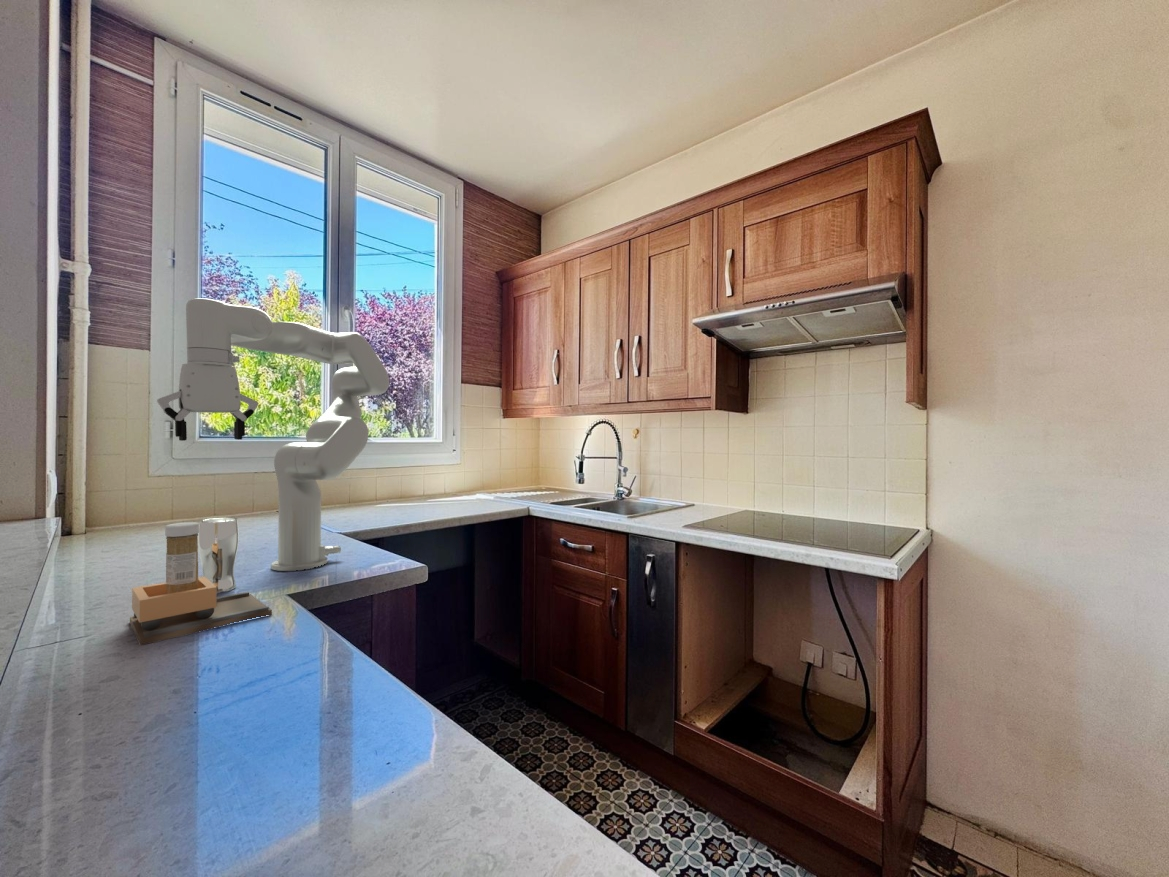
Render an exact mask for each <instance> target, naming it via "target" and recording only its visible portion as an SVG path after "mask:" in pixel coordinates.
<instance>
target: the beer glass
mask: <svg viewBox="0 0 1169 877" xmlns="http://www.w3.org/2000/svg"><path fill="white" fill-rule="evenodd" d="M238 520H239V519H238V518H236V517H216V518H207V519H202V520H200V521H199V533H198V537H197V538H198V556H199V559H200V564H201V568H202V577H203V576H205V577H206V578H207V579H208V580H209V581H210V582H211V583H213V584H214V585H215V586H216V587H217V594H221V593H220V592H223V593H226V592H225V591H227V592H230V591H229V590H231V591H233V590H235V589H236V588H235V587H237V584H236V580H235V574H234V573H235V572H234V569H235V564H236V560H237V553H238V548H239V542H240V541H239V539H240V538H239V536H240V534H239V523H238V522H239V521H238ZM234 588H235V589H234ZM232 589H233V590H232Z"/></svg>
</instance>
